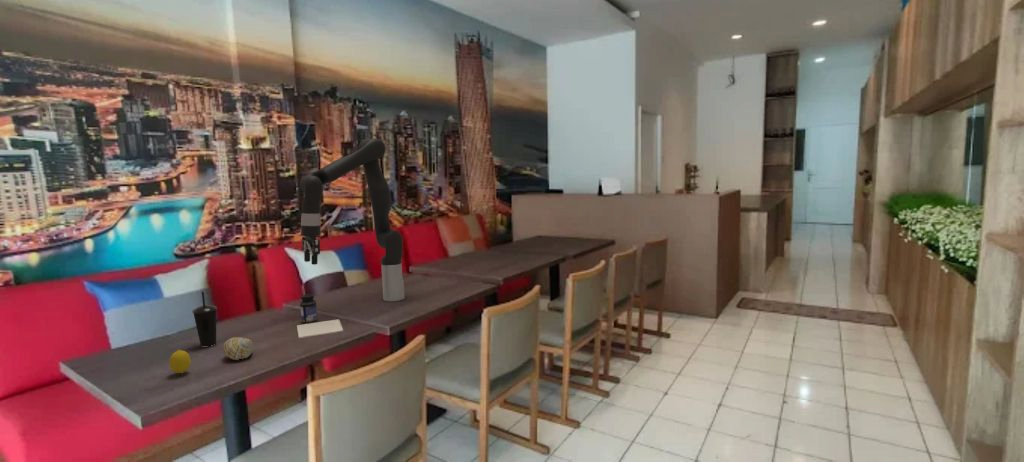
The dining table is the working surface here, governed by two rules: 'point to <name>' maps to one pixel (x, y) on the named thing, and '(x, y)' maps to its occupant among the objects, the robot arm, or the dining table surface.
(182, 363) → the lemon
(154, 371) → the dining table surface
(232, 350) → the yarn ball
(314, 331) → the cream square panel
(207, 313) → the drinking cup
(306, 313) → the pill bottle
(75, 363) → the dining table surface
